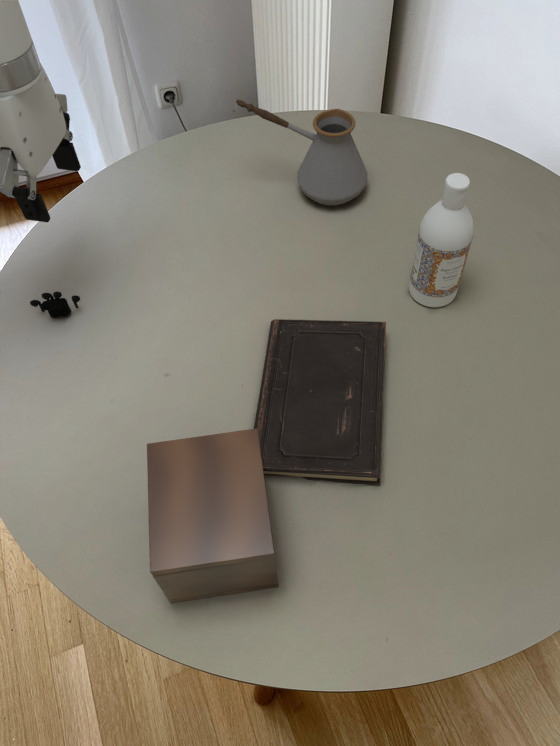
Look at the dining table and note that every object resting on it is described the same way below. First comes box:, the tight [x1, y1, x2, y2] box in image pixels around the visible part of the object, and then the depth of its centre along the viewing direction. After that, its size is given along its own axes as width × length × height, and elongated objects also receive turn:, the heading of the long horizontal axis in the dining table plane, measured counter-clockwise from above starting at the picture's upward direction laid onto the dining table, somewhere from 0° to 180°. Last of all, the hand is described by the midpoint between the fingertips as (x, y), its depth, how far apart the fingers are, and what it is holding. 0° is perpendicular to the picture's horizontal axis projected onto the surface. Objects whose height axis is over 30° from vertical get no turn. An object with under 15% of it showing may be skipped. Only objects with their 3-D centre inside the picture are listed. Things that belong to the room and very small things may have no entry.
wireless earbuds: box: [29, 291, 81, 319], centre depth 92 cm, size 7×2×5 cm, turn 97°
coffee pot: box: [232, 99, 369, 207], centre depth 103 cm, size 21×12×15 cm, turn 77°
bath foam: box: [408, 172, 474, 308], centre depth 87 cm, size 7×7×20 cm
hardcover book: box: [253, 318, 387, 486], centre depth 84 cm, size 16×23×2 cm
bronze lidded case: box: [146, 428, 279, 604], centre depth 71 cm, size 12×14×11 cm
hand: (54, 193), depth 82 cm, fingers open, 9 cm apart
